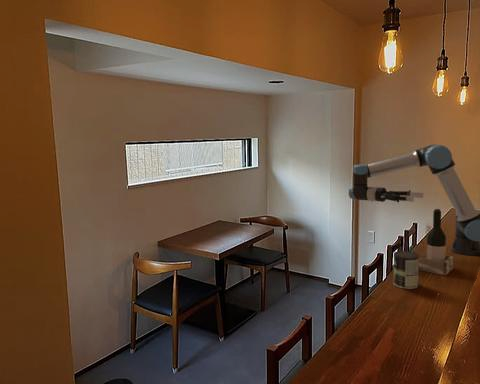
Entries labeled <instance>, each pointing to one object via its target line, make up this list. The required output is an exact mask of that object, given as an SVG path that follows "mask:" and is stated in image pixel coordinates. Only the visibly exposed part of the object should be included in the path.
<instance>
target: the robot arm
mask: <svg viewBox="0 0 480 384" xmlns="http://www.w3.org/2000/svg"><path fill="white" fill-rule="evenodd" d="M413 167H418V168H420V167H428V168H429V170H430V172H431V175H434V176H436V177H437V178H438V181H439V182H440V184H441V187H442V188H443V189H444V192H445V194H446V196H447V197H448V199H449V201H450V203H451V204H452V207H453V209H454V211H455V216H454V217H455V225H454V226H455V230H454V231H455V233H454V239H453V241H452V244H451V246H450V249H451V250H450V251H451V252H453V253H456V254H459V255H464V256H465V255H466V256H478V255H480V210H479V209H476V208H475V206H474V204H473V202H472V200H471V198H470V197H469V195H468V193H467V191H466V188H465V186H464V184H462V181H461V179H460V178H459V176H458V174H457V172H456V170H455V167H456V163H455V161H454V159H453V154H452V152H451V150H450V148H448V147H447V146H445V145H442V144H430V145H427V146H424V147H422V148H419V149H415V150H413V151H412V152H411V153H407V154H404V155H399V156H395V157H392V158H389V159H383V160H379V161H376V162H371V163H368V164H354V165H353V170H352V176H353V179H352V180H353V185H351V186H350V187H349V188H348V197H349V199H350V200H359V201H368V202H369V201H371V203H373V202H382V203H383V202H385V201H386V200H387V201H392V202H393V201H394V202H396V203H400V201H401V202H409V203H410V202H411V203H412V202H414V201H415V200H414V199H415V198H417V199H424V192H420V191H419V192H418V191H411V190H410V189H409V190H406V191H405V190H403V191H402V190H400V191H398V190H396V191H395V190H394V191H393V190H388V191H387V189H386V188H385V187H379V186H378V187H377V186H368V181H369V180H368V179H369V178H371V177H376V176H380V175H384V174H389V173H393V172H397V171H401V170H406V169H408V168H413Z"/></svg>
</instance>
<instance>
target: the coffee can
mask: <svg viewBox="0 0 480 384" xmlns="http://www.w3.org/2000/svg"><path fill="white" fill-rule="evenodd" d="M419 258H420V255H419V253H417V252H414V251H408V250H398V251H395V252H393V283H392V284H393V286H395V287H397V288H400V289H406V290H412V289H417V288H418V287H419Z"/></svg>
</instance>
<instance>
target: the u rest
mask: <svg viewBox="0 0 480 384" xmlns="http://www.w3.org/2000/svg"><path fill="white" fill-rule="evenodd" d="M425 255H426V256H425V258H424V257H419V261H418V271H421V272H427V273H433V274H438V275H442V276H447V275H448V274H449V273H450V272H451V271H452V270H454V267H455V265H454V263H455V260H454V259H455V256H454V255H453V256H452V255H447V254H445V262H443V261H437V260H431V259H427V252H426V254H425Z"/></svg>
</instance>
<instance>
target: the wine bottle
mask: <svg viewBox="0 0 480 384" xmlns="http://www.w3.org/2000/svg"><path fill="white" fill-rule="evenodd" d="M432 213H433V216H432V217H433V218H432V219H433V220H432V224H433V225H432V229H431V230H430V232H429V233H428V235H427V238H426V239H427V240H426V242H427V243H426V253H427V259H431V260H437V261H443V262H445V255H446V253H447V252H446V250H447V249H446V248H447V247H446V244H447V236H446V234H445V232H444V231H443V229H442V228H441V227H442V226H441V225H442V210H441V209H440V208H434V210H433V212H432Z"/></svg>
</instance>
